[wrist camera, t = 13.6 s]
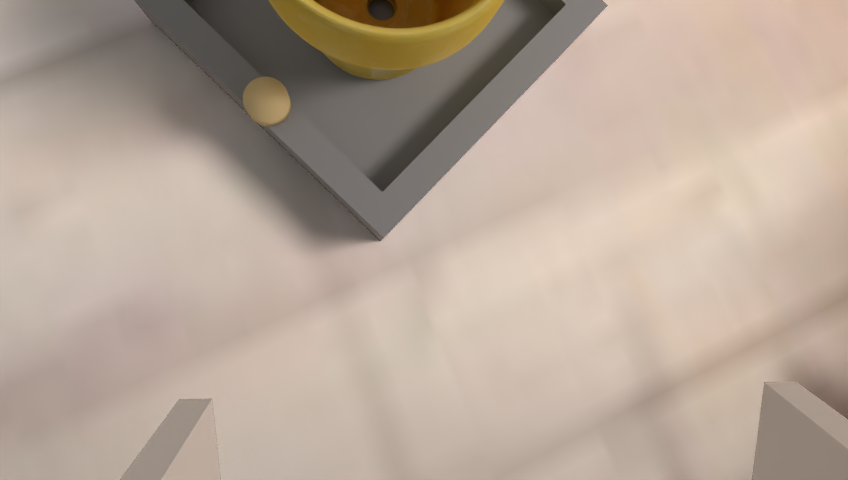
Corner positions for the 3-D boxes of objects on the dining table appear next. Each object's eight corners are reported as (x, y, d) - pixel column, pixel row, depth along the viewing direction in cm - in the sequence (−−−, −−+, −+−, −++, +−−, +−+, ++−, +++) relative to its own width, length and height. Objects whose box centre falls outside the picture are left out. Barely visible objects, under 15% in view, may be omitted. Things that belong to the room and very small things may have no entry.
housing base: (375, -186, 32) (378, -250, 28) (587, 26, 33) (619, -8, 29) (146, 23, 30) (115, -15, 26) (377, 244, 31) (380, 240, 27)
